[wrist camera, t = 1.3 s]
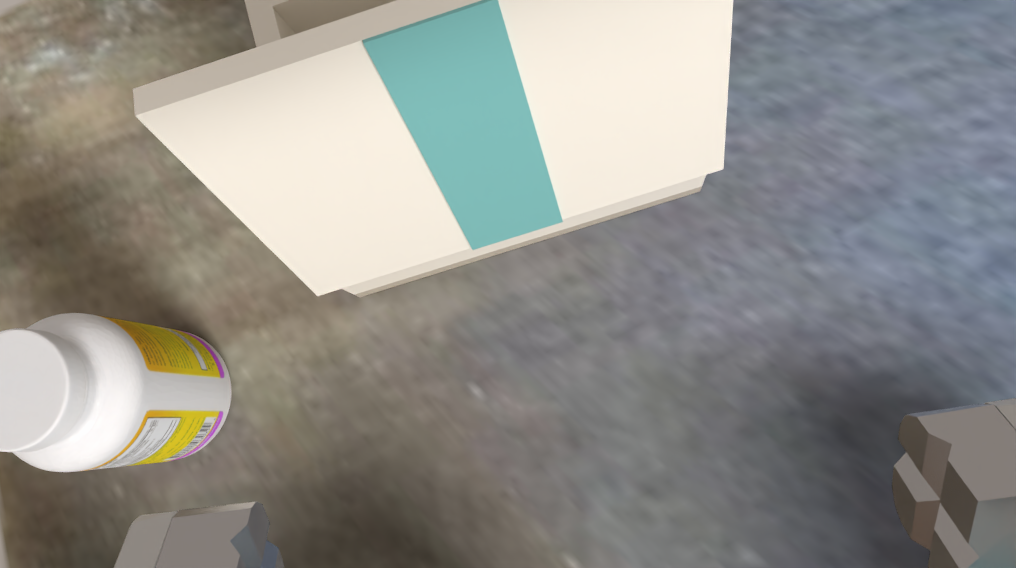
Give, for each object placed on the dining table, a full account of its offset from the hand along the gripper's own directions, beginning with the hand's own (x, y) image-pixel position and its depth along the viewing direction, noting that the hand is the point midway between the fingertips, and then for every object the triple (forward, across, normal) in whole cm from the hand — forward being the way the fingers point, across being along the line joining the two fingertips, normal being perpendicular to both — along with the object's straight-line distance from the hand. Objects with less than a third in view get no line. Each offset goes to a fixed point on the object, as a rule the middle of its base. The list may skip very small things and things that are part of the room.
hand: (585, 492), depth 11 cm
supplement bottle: (+30, +18, +19) cm, 40 cm away
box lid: (+22, +1, +3) cm, 22 cm away
